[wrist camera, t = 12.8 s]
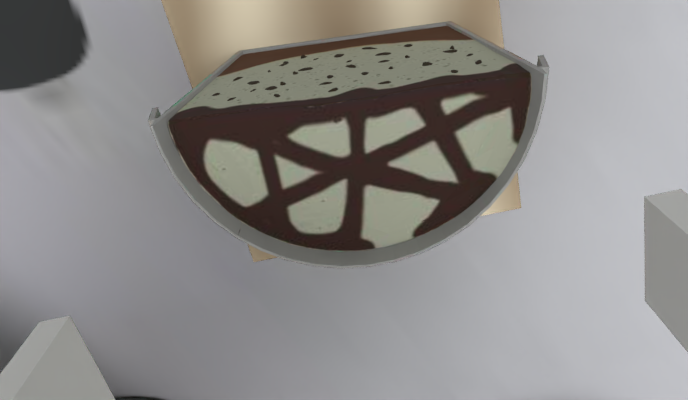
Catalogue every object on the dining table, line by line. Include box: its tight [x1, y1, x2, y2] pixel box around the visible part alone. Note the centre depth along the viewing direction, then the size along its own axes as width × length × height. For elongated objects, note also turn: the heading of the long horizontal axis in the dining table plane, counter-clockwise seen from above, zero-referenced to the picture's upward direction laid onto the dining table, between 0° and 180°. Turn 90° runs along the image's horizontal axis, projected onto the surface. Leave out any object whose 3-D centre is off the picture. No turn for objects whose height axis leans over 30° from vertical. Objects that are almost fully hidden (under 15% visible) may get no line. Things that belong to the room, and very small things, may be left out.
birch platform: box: [161, 0, 521, 262], centre depth 29 cm, size 14×14×5 cm
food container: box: [148, 21, 549, 268], centre depth 22 cm, size 12×6×10 cm, turn 98°
